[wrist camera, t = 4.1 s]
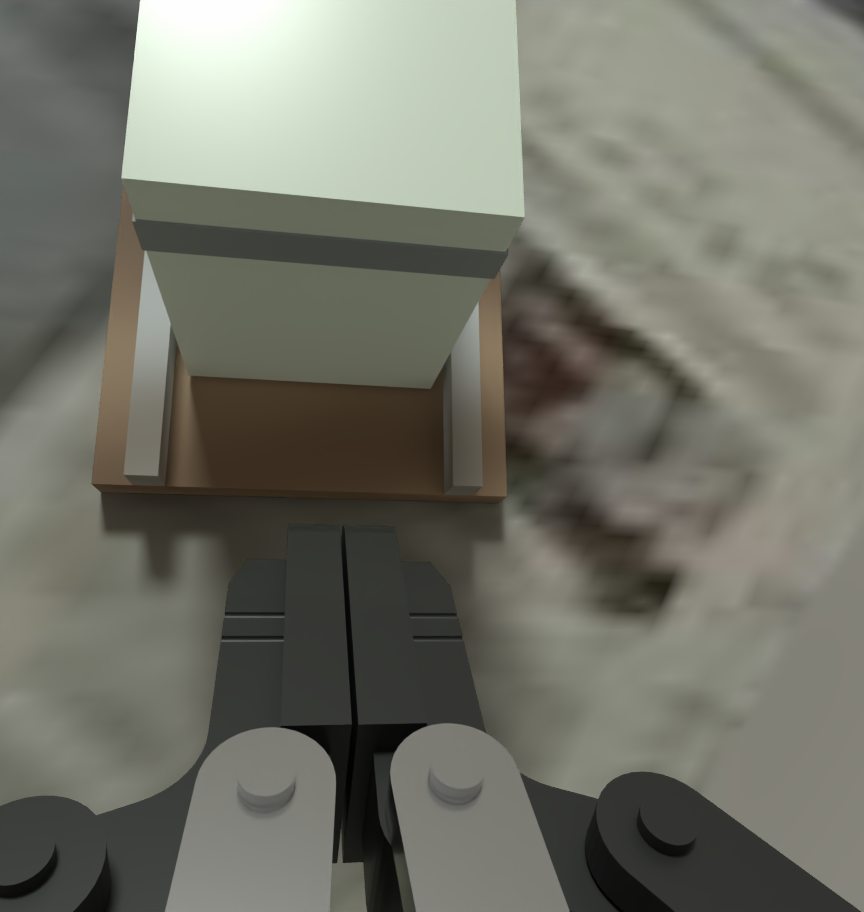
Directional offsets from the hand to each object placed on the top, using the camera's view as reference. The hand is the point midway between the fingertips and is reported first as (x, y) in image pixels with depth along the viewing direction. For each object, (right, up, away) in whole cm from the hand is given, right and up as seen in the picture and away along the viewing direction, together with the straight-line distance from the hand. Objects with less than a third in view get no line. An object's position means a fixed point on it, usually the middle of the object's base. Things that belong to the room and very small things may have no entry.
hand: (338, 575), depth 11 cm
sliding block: (-2, +7, +11) cm, 13 cm away
